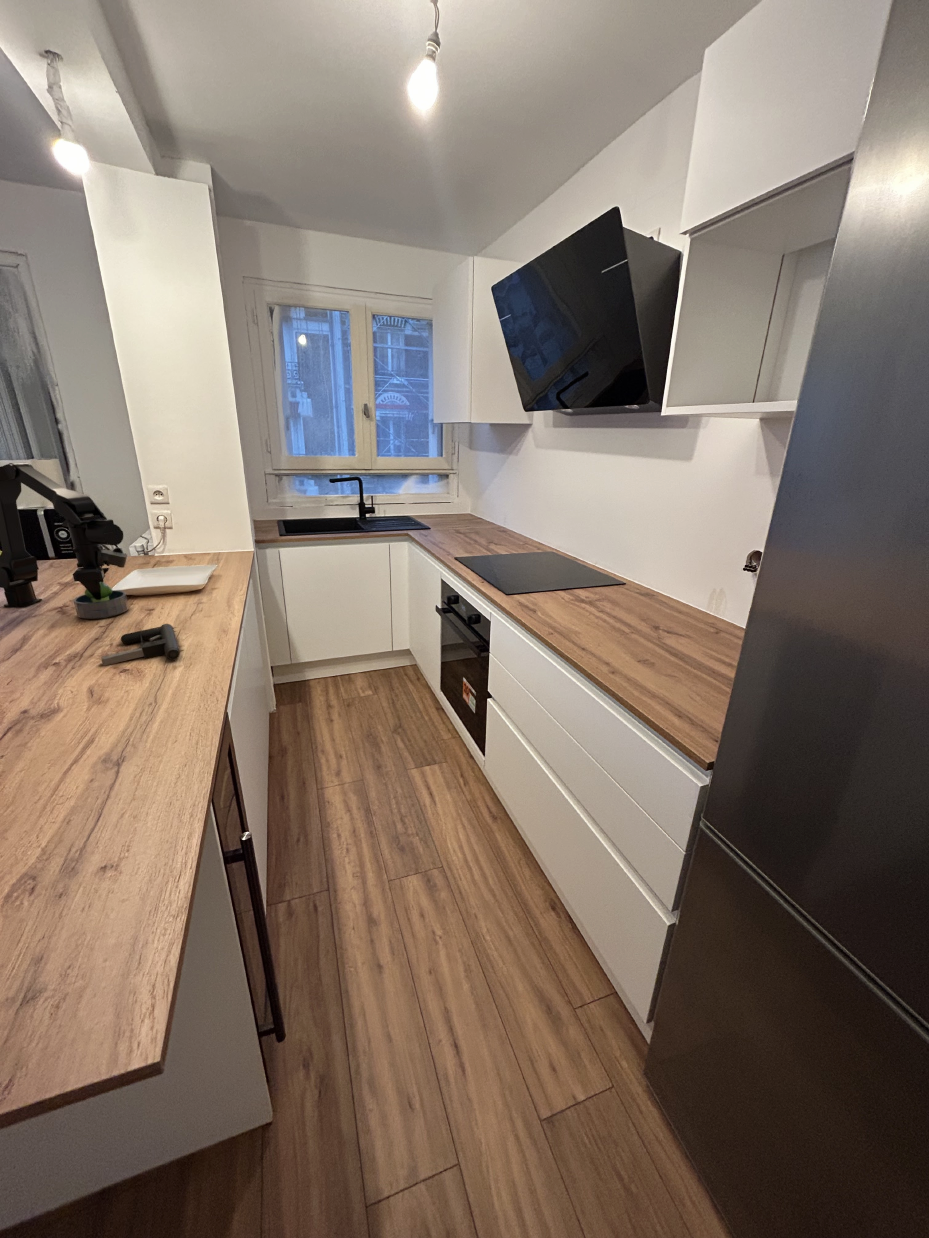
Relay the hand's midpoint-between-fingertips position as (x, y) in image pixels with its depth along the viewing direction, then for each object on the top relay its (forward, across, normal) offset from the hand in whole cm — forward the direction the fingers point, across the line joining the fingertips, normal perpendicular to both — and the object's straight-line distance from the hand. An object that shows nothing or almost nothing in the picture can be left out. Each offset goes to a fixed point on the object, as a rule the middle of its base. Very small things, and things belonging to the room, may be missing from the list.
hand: (99, 597), depth 138 cm
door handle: (+5, -36, -12) cm, 38 cm away
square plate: (+5, +23, -16) cm, 29 cm away
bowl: (+5, 0, 0) cm, 5 cm away
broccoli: (+3, 0, 0) cm, 3 cm away
